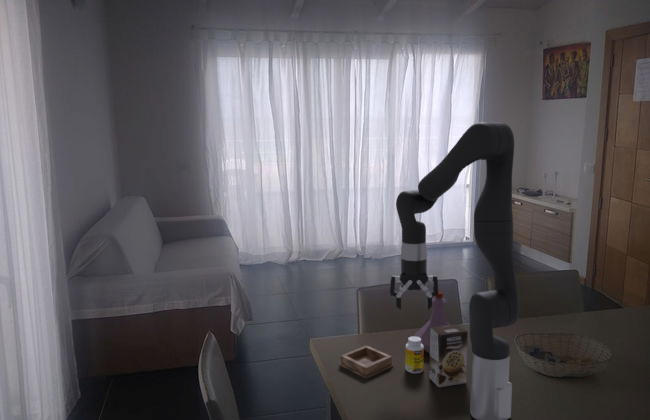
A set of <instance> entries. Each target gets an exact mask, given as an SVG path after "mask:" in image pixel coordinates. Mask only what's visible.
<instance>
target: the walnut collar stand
mask: <svg viewBox="0 0 650 420" xmlns="http://www.w3.org/2000/svg"><path fill="white" fill-rule="evenodd" d="M339 367H342V368H344V369H346V370H348V371H349V372H352V373H354V374H356V375H358V376H360V377H362V378H364V380H365V379H366V380H367V379H369V378H371V377H373V376H376V375H378V374H380V373H382V372H385V371H387V370H389V369H391V368H393V367H394V363H393V356H392V355H389V354H387V353H385V352H382V351H381V350H378V349H377V348H373V347H371V346H369V345H367V344H366V345H364V346H361V347H357V348H356V349H354V350H351V351H348V352H346V353H343V354H341V355H340V362H339Z"/></svg>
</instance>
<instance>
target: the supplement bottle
mask: <svg viewBox="0 0 650 420" xmlns="http://www.w3.org/2000/svg"><path fill="white" fill-rule="evenodd" d="M407 339H408V341H407V343H406V344H405V349H404V350H405V351H404V352H405V354H404V355H405V364H404V365H405V366H404V368H405V370H406V372H408V373H410V374H420V373H422V372H423V370H424V359H425V358H424V356H425V355H424V354H425V353H424V352H425V350H424V346H423V344H421V338H420V337H416V336H415V335H414V336H413V335H412V336H409V337H408V338H407Z"/></svg>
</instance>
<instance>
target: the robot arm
mask: <svg viewBox="0 0 650 420" xmlns="http://www.w3.org/2000/svg"><path fill="white" fill-rule="evenodd" d="M514 136H515V135H514V133H513V130H512V128H511V127H510V126H509V125H508V124H506V123H505V122H500V121H479V122H476V123H473V124H472V125H471V126H470V127H468V128H467V129H466V130H465V131H464V133H463V134H462V135H461V136H460V137H459V138H458V140H457V142H456V143H455V144H454V146H453V147H452V148H451V149H450V150H449V152H448V153H447V154H446V155H445V157H444V158H443V159H442V160H441V161H440V163H438V164H437V165H436V166H435V167H433V169H431V171H429V172H428V173H426V175H425V176H424V177H422V179H420V181H419V182H418V185H417V189H410V190H404V191H401V192H400V193H399V194H398V195H397V198H396V202H395V207H396V213H397V215H398V218H399V223H400V226H401V247H400V271H401V272H400V275H395V274H391V275H390V283H389V294H390V296H391V297H395V306H396V308H398V310H399V311H400V310H402V295H403V294H405V292H406V291H407V290H408V291H420V290H422V291H423V293H425V295H426V310H431V308H433V303H432V299H433V298H434V297H435V296H437V295H438V292H439V283H438V282H439V280H438V276H437V275H436V274H435V273H434V274H432V275H428V273H427V269H428V265H427V264H428V263H427V262H428V260H427V259H428V258H427V257H428V253H427V227H426V224H425V222H423V221H419V220H417V218H416V214H417V215H418V214H423V213H426V212H427V211H429V210H431V209H432V208H433V206H434V205H435V204H436V203H437V201H438V199H439V198H440V197H442V196H443V195H444V194H445V193H447V192H448V191H449V190H450V189H451V188H452V187H453V186H454V185H455V184H456V183H457V181H458V178H459V176H460V174H461V172H462V171H463V170H464V169H465V168H467V167H468V166H470V165H471V164H473V163H475V162H478V161H479V160H481V161H485V163H486V165H485V166H486V167H485V168H486V177H485V183H484V186H483V188H482V191H481V193H480V195H479V198H478V199H477V202H476V205H475V209H474V212H473V229H474V232H473V233H474V234H473V236H474V240H475V243H476V245H477V247H478V248H479V251H480V252H481V253H482V255H483V256H484V258H485V259H486V261H487V262H488V264H489V265H490V267H491V270H492V274H493V279H494V289H493V290H487V291H479V292H475V293H473V295H472V296H471V297H470V300H469V304H468V305H469V306H468V307H469V309H468V313H469V314H468V315H469V316H468V317H469V338H470V342H471V363H470V364H471V367H470V368H471V369H470V396H469V397H470V398H469V399H470V400H469V401H470V403H469V404H470V405H469V406H470V407H469V408H470V409H469V413H470V415H471V417H472V418H474V419H475V420H508V419H511V418H512V417H511V416H512V414H511V413H512V396H513V395H512V393H513V391H512V390H513V383H512V382H510V381H509V380H510V379H509V378H510V358H511V357H510V355H511V351H510V350H511V346H510V343H509V342H508V341H507V340H506V339H504V338H502V337H500V336H498V335H494V330H493V329H498V328H506V327H509V326H510V327H511V326H513V325H515V324H516V323H517V321H518V318H519V312H520V311H519V309H520V307H519V306H520V305H519V304H520V303H519V295H518V287H517V280H516V272H515V260H514V259H515V258H514V219H513V218H514V217H513V167H514V154H515V153H514V152H515V137H514ZM398 281H400V282H401V285H400V286H399V288H398V289H397V291H396V290H395V288H396V287H395V286H396V284H397V283H398ZM428 281H429V282H430V283H431V284H432V290H431V291H430V289H429V288H428V287H427V284H426V283H427V282H428Z"/></svg>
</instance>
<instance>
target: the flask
mask: <svg viewBox="0 0 650 420" xmlns="http://www.w3.org/2000/svg"><path fill="white" fill-rule="evenodd" d="M443 295H444V293H443V291H438V295H437V296H434V297H432V311H431V314H430V318H429V320H428V321H426V323H425V324H424V325H423V326H422V327H421V328H420V329H418V330H417V331H416V332H415V333H414V334H413V335H414V336H416V337H420V338H421V344H423V346H424V352H425V353H427V354H430V331H431V327H439V326H447V325H451V324H450V322H448V319H447V314H446V310H445V306H446V304H447V299H445V298H444V297H443Z"/></svg>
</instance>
